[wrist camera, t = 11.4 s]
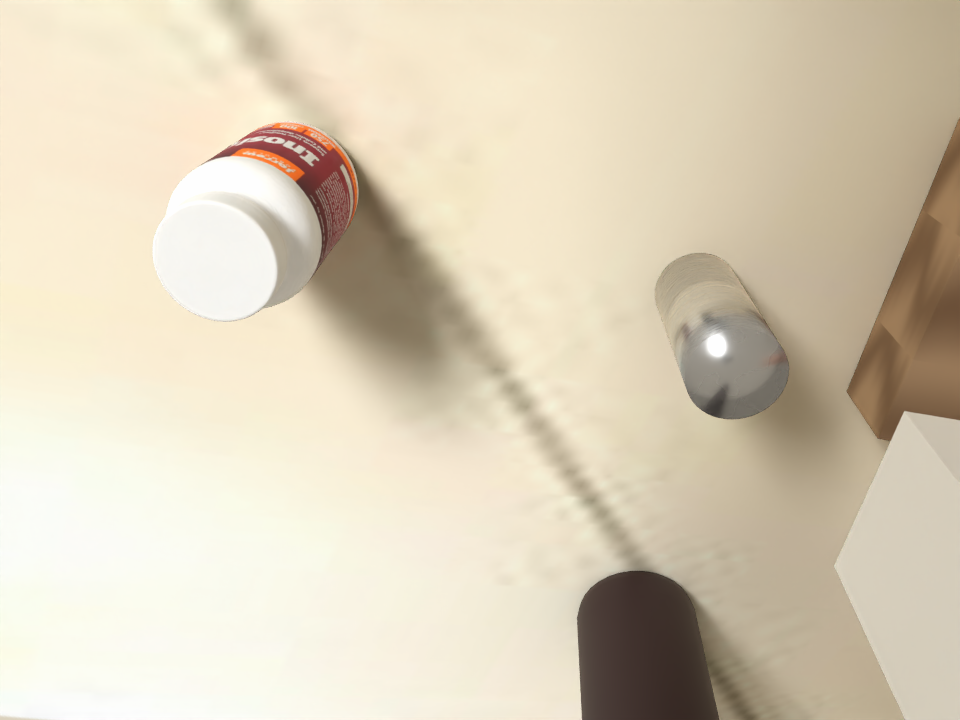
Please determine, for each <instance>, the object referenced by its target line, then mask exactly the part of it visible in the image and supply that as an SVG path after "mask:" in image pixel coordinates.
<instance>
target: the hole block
mask: <svg viewBox="0 0 960 720" xmlns="http://www.w3.org/2000/svg"><path fill="white" fill-rule="evenodd" d="M847 393H848V394H849V396H850V397H851V399H852V400H853V402H854V403H855V405H856V406H857V408H858V409H859V411H860V412H861V414H862V415H863V417H864V418H865V420H866V421H867V423H868V424H869V426H870V427H871V429H872V430H873V432H874V433H875V435H876V436H877V438H878V439H884V440H890V441H891V439H892V437H893V435H894V433H895V430H896V428H897V426H898V424H899V422H900V419H901V417H902V415H903V413H904V411H907V412H913V413H919V414H925V415H931V416H937V417H943V418H949V419H955V420H960V118H959V120H958V123H957V125H956V128H955V130H954V132H953V135H952V137H951V140H950V142H949V145H948V147H947V149H946V152H945V154H944V157H943V159H942V162H941V164H940V166H939V169H938V171H937V174H936V176H935V179H934V181H933V183H932V186H931V188H930V191H929V193H928V196H927V198H926V200H925V203H924V205H923V208H922V210H921V213H920V215H919V217H918V220H917V222H916V225H915V227H914V230H913V232H912V234H911V237H910V239H909V242H908V244H907V247H906V249H905V251H904V254H903V256H902V259H901V261H900V264H899V266H898V268H897V271H896V273H895V276H894V278H893V281H892V283H891V285H890V288H889V290H888V293H887V295H886V298H885V300H884V302H883V305H882V307H881V310H880V312H879V315H878V317H877V319H876V322H875V324H874V327H873V329H872V332H871V334H870V336H869V339H868V341H867V344H866V346H865V349H864V351H863V353H862V356H861V358H860V361H859V363H858V366H857V368H856V370H855V373H854V375H853V378H852V380H851V383H850V385H849V387H848V390H847Z"/></svg>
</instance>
